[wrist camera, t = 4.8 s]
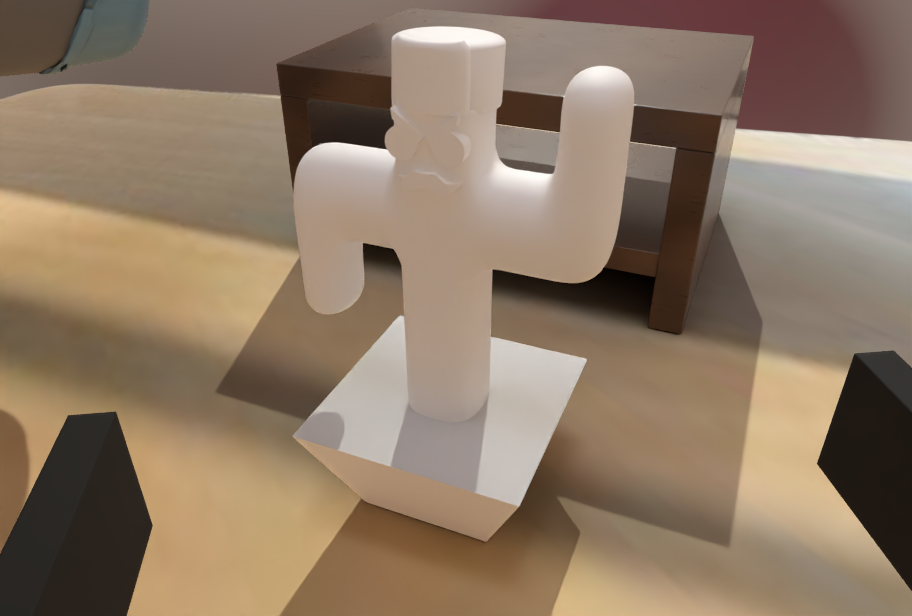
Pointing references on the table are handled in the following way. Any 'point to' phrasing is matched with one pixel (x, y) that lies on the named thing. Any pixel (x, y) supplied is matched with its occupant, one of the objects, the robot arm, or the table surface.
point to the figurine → (455, 278)
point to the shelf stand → (539, 107)
